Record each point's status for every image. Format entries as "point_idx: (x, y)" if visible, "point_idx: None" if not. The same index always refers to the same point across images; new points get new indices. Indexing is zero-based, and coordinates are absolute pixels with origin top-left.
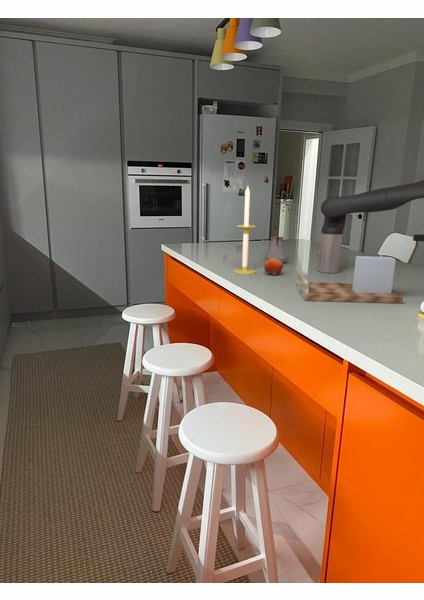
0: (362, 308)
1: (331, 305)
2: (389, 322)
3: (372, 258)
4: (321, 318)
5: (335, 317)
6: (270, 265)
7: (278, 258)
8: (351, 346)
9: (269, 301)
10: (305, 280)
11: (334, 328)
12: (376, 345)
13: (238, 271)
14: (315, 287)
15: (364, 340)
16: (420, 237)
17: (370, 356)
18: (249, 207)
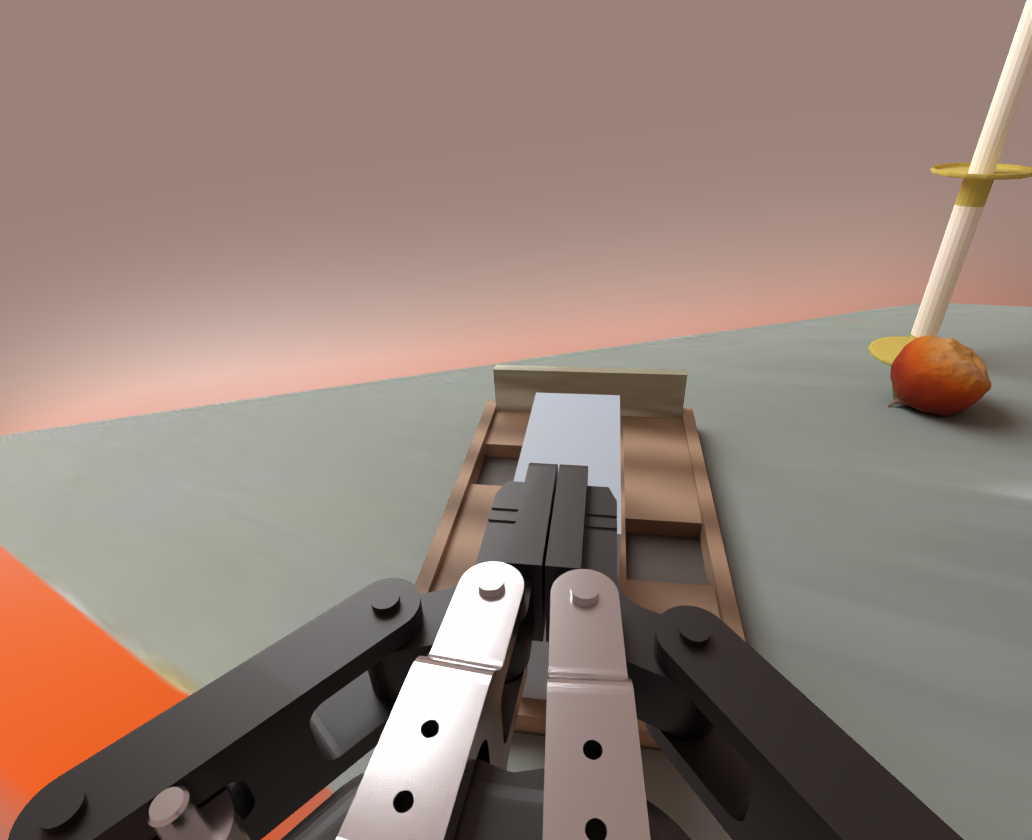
0: (361, 523)
1: (424, 459)
2: (176, 539)
3: (535, 430)
4: (309, 418)
5: (302, 442)
6: (897, 356)
7: None
8: (108, 422)
9: (493, 368)
10: (522, 367)
11: (224, 423)
12: (71, 455)
13: (895, 342)
14: (625, 444)
15: (114, 447)
16: (501, 522)
17: (41, 432)
18: (1019, 77)
